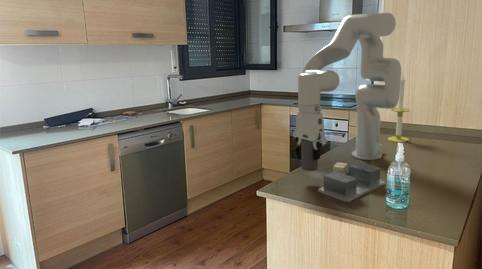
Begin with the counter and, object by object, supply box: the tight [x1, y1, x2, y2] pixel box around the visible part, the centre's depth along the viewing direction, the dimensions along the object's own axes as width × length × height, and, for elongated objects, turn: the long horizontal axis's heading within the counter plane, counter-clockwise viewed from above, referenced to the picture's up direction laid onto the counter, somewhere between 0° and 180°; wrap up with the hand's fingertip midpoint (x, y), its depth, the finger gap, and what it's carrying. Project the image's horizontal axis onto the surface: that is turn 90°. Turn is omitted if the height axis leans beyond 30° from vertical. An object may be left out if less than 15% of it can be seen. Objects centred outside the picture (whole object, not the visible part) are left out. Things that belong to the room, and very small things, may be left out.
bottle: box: [300, 135, 319, 172], centre depth 134 cm, size 6×6×15 cm
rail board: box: [317, 161, 386, 203], centre depth 129 cm, size 22×12×6 cm, turn 129°
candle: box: [387, 75, 411, 143], centre depth 183 cm, size 10×10×32 cm
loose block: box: [332, 162, 348, 175], centre depth 143 cm, size 5×4×4 cm
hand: (309, 156), depth 134 cm, fingers closed on bottle, 5 cm apart
